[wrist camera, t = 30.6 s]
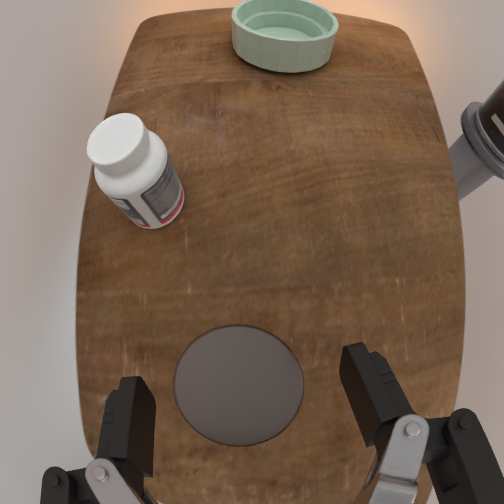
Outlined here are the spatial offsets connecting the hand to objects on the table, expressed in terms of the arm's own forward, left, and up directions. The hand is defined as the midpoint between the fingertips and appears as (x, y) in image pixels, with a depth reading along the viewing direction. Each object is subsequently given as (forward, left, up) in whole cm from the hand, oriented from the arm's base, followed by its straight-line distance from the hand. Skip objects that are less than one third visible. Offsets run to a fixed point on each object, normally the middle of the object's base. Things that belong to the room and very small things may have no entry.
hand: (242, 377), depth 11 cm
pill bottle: (+8, -12, -12) cm, 19 cm away
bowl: (-4, -34, -11) cm, 37 cm away
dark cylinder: (0, 0, -12) cm, 12 cm away
